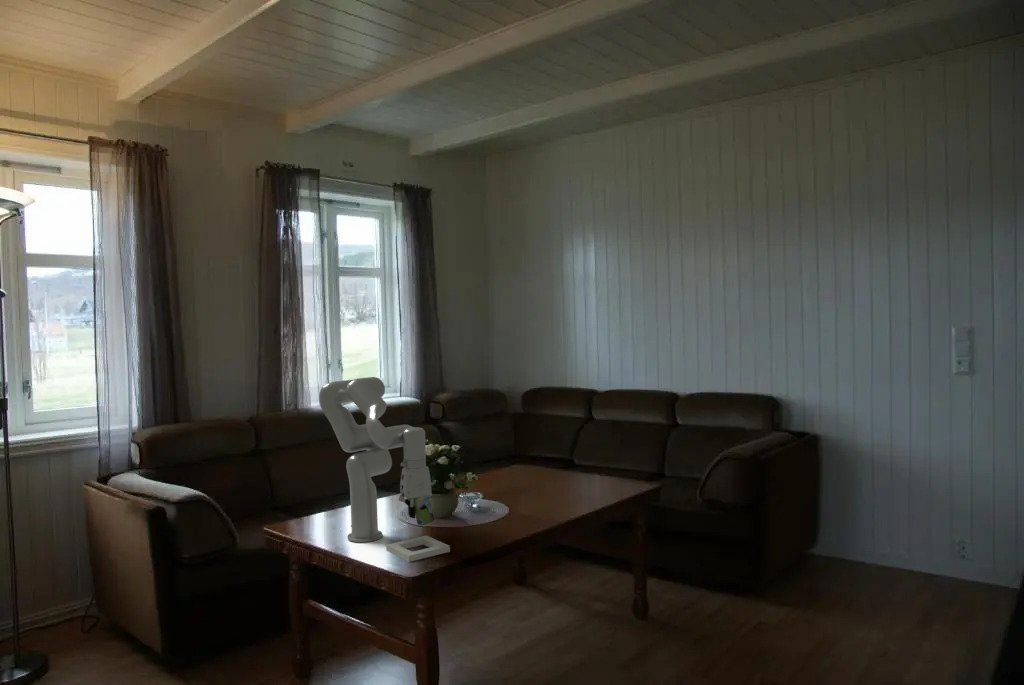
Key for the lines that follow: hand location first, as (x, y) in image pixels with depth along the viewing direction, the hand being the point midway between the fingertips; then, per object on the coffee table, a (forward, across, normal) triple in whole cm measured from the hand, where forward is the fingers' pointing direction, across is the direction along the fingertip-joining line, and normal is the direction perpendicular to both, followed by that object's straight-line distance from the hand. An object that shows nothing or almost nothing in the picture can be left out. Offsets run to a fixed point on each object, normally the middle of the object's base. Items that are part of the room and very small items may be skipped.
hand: (415, 516), depth 252 cm
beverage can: (+4, +3, 0) cm, 5 cm away
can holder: (+12, 0, -1) cm, 12 cm away
